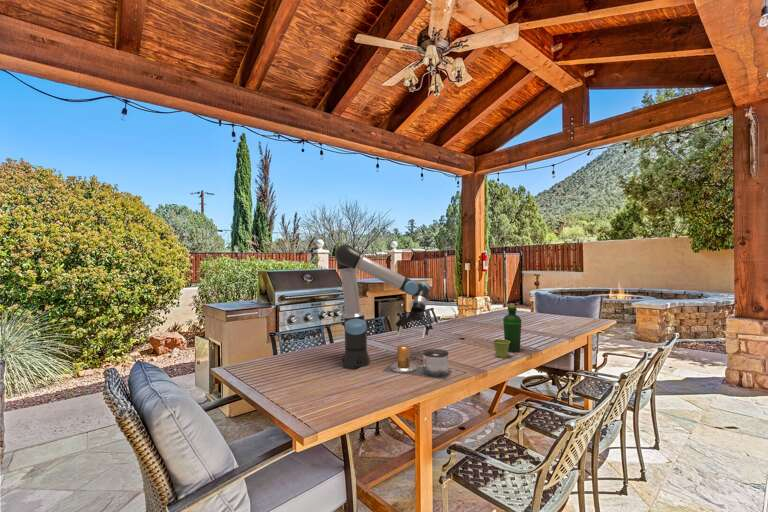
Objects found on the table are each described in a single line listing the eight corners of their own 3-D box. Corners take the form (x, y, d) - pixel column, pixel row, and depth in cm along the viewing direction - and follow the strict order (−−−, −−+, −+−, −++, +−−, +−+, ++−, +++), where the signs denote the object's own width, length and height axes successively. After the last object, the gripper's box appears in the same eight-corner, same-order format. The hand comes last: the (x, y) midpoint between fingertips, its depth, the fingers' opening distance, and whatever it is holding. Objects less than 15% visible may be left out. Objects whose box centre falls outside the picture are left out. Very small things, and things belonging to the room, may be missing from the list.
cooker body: (419, 375, 165) (419, 354, 165) (427, 367, 176) (426, 348, 176) (445, 378, 160) (445, 357, 160) (451, 370, 171) (450, 350, 171)
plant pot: (511, 359, 193) (511, 343, 193) (493, 358, 195) (493, 342, 195) (509, 354, 202) (508, 339, 202) (492, 353, 204) (492, 338, 204)
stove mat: (381, 373, 172) (381, 371, 172) (392, 364, 184) (392, 363, 184) (445, 381, 159) (445, 379, 159) (452, 372, 172) (452, 370, 172)
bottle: (523, 349, 212) (523, 303, 212) (519, 354, 203) (519, 306, 203) (505, 347, 218) (505, 302, 218) (501, 351, 209) (500, 304, 209)
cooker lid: (386, 371, 171) (386, 348, 171) (396, 363, 183) (396, 342, 183) (411, 374, 166) (411, 351, 166) (419, 366, 178) (419, 344, 178)
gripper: (441, 311, 193) (435, 344, 180) (399, 308, 203) (390, 340, 189) (439, 302, 189) (432, 336, 175) (396, 300, 198) (386, 332, 184)
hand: (410, 338), depth 182 cm, fingers open, 13 cm apart
